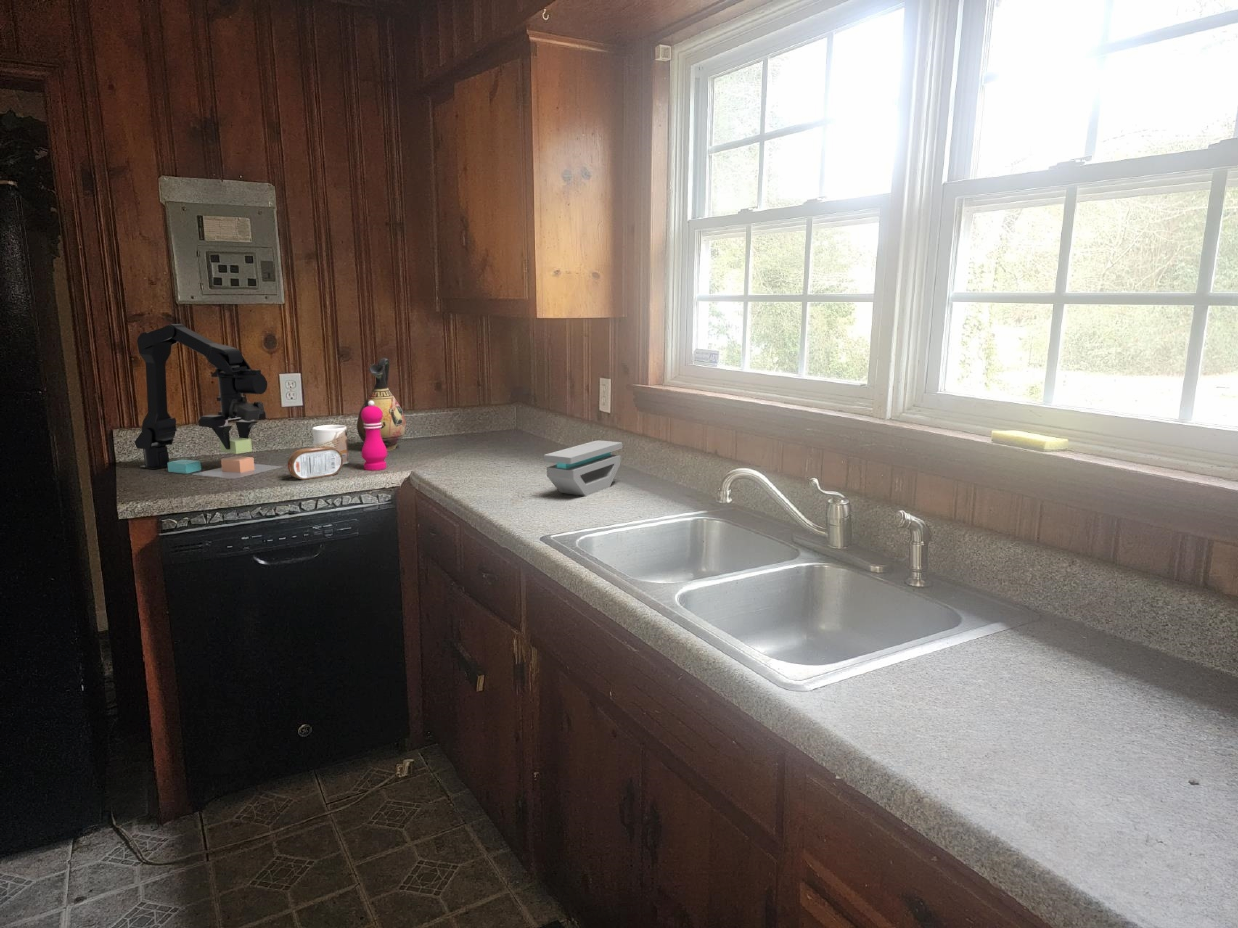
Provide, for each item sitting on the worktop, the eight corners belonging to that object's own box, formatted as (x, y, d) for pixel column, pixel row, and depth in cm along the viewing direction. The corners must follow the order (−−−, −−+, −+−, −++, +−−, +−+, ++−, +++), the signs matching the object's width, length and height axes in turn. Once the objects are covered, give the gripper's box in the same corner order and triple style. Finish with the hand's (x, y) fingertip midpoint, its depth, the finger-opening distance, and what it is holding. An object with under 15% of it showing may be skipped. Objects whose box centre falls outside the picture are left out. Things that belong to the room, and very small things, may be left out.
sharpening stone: (597, 479, 221) (597, 440, 218) (622, 482, 217) (622, 442, 215) (544, 498, 199) (543, 454, 197) (571, 501, 195) (570, 457, 193)
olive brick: (220, 451, 230) (219, 439, 229) (236, 448, 234) (235, 437, 233) (236, 453, 226) (235, 441, 226) (252, 451, 231) (250, 439, 230)
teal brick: (168, 474, 230) (167, 462, 229) (183, 471, 235) (182, 459, 234) (186, 476, 228) (185, 464, 227) (201, 472, 232) (200, 461, 232)
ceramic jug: (399, 453, 260) (394, 360, 255) (352, 453, 261) (345, 360, 255) (413, 444, 277) (408, 356, 271) (368, 444, 277) (363, 356, 272)
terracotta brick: (222, 471, 230) (220, 459, 230) (236, 467, 235) (235, 456, 234) (240, 472, 228) (239, 460, 227) (254, 469, 232) (253, 457, 232)
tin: (340, 472, 231) (338, 443, 229) (345, 474, 229) (343, 445, 227) (288, 480, 220) (285, 450, 219) (293, 482, 218) (290, 452, 217)
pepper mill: (380, 471, 232) (376, 402, 228) (357, 470, 234) (353, 401, 230) (392, 466, 239) (388, 399, 235) (370, 465, 241) (365, 398, 237)
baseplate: (191, 476, 226) (191, 474, 226) (242, 464, 242) (242, 462, 242) (234, 480, 220) (233, 478, 220) (283, 468, 237) (283, 466, 236)
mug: (305, 464, 242) (302, 428, 240) (333, 457, 253) (331, 423, 251) (333, 467, 238) (331, 430, 236) (360, 460, 249) (358, 424, 247)
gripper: (224, 398, 216) (230, 455, 219) (278, 391, 232) (282, 444, 235) (194, 396, 220) (200, 452, 223) (249, 389, 237) (253, 442, 240)
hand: (236, 447), depth 230 cm, fingers closed on olive brick, 5 cm apart
